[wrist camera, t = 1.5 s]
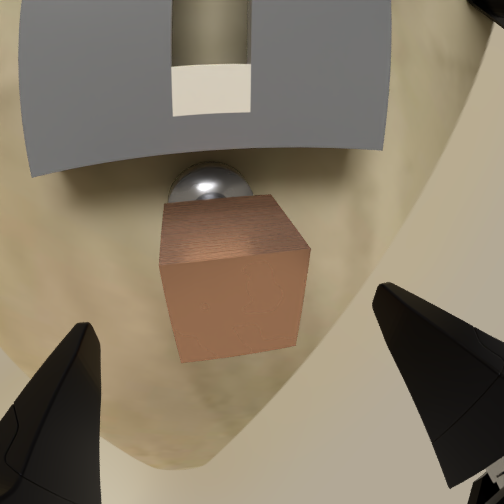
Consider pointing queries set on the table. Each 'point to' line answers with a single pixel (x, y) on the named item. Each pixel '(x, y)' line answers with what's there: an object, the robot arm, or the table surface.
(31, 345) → the table surface
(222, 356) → the key peg
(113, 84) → the keyhole plate
